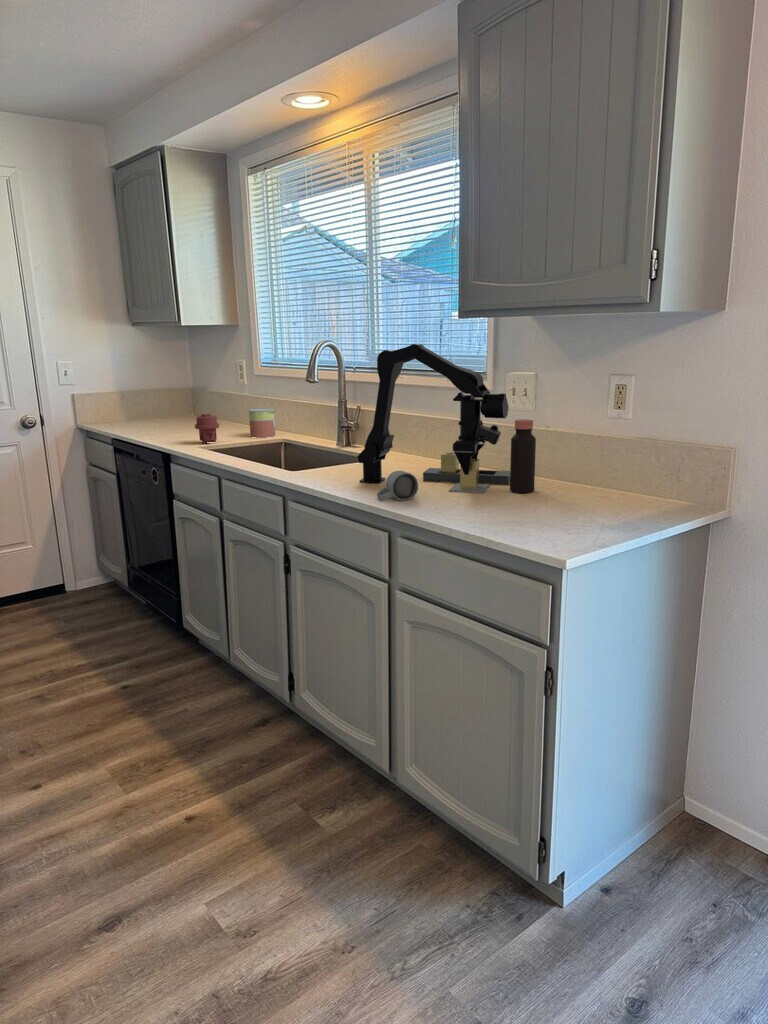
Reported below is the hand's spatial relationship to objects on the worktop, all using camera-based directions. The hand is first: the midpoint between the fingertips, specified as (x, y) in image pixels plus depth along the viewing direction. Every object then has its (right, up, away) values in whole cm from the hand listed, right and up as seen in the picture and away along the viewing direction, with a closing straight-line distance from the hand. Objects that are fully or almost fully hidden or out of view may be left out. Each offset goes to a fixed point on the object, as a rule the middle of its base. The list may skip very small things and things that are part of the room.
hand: (469, 471), depth 204 cm
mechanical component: (-99, +17, +98) cm, 140 cm away
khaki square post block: (-4, -2, +15) cm, 16 cm away
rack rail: (+1, -2, +13) cm, 13 cm away
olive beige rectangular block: (0, -4, +1) cm, 5 cm away
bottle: (+14, -6, -3) cm, 16 cm away
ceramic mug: (-21, -8, -9) cm, 24 cm away
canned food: (-79, +22, +115) cm, 141 cm away
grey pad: (0, -5, +1) cm, 5 cm away
